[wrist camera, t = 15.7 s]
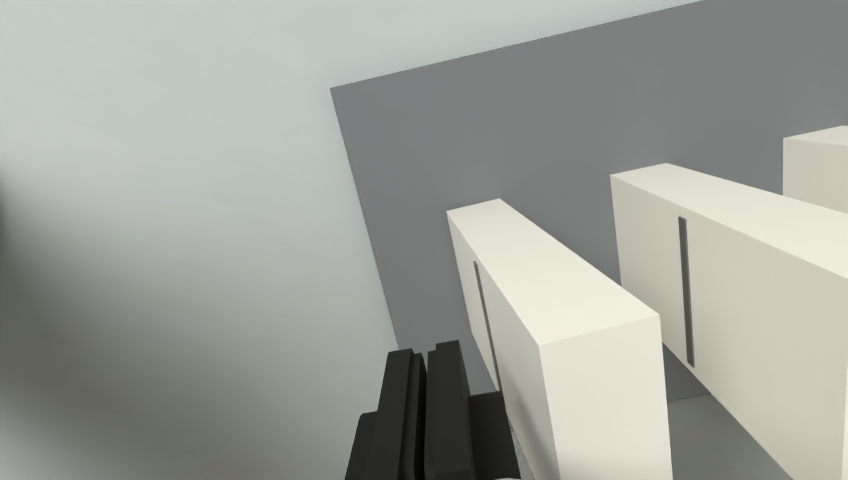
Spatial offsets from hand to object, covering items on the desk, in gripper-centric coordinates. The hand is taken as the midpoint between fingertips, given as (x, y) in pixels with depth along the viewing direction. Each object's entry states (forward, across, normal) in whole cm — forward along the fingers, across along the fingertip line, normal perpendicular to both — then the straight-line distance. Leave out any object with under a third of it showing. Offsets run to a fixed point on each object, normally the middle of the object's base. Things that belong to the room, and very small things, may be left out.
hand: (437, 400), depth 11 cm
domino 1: (+7, -2, 0) cm, 8 cm away
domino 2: (+8, -8, 0) cm, 11 cm away
